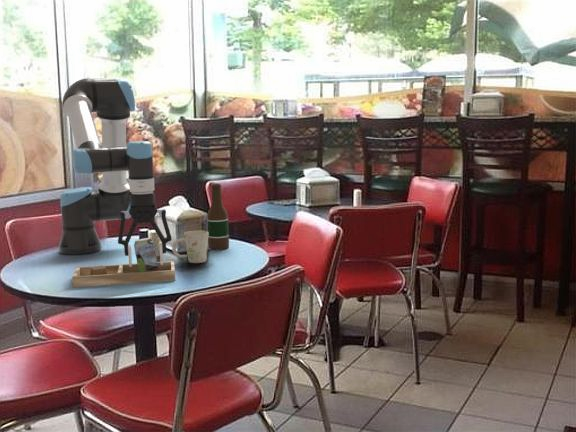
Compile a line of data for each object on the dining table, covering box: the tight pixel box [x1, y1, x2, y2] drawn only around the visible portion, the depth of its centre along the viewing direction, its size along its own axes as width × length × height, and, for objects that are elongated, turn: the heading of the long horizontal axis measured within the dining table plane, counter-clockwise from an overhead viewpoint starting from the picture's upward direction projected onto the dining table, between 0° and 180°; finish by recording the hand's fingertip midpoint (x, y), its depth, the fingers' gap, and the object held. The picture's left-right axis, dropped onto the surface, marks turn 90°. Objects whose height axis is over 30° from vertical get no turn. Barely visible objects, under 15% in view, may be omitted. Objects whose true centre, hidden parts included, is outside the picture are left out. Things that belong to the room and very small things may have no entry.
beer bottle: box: [206, 183, 230, 251], centre depth 263 cm, size 8×8×24 cm
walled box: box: [71, 260, 176, 288], centre depth 219 cm, size 13×30×4 cm, turn 100°
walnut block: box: [90, 265, 107, 275], centre depth 217 cm, size 4×4×4 cm
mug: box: [171, 229, 209, 264], centre depth 242 cm, size 8×13×10 cm, turn 107°
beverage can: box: [133, 237, 159, 272], centre depth 219 cm, size 6×7×12 cm
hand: (146, 264), depth 219 cm, fingers open, 9 cm apart
